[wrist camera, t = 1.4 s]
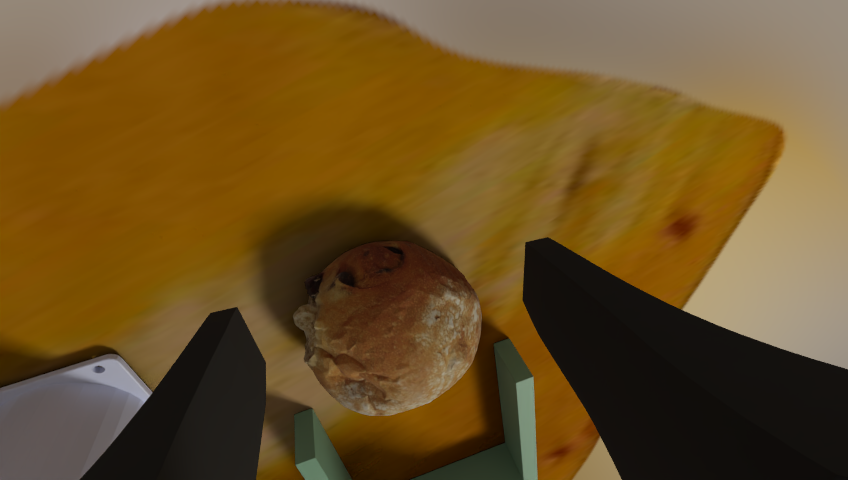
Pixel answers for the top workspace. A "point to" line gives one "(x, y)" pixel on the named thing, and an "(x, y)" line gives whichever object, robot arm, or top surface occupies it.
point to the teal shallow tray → (473, 476)
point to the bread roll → (389, 327)
